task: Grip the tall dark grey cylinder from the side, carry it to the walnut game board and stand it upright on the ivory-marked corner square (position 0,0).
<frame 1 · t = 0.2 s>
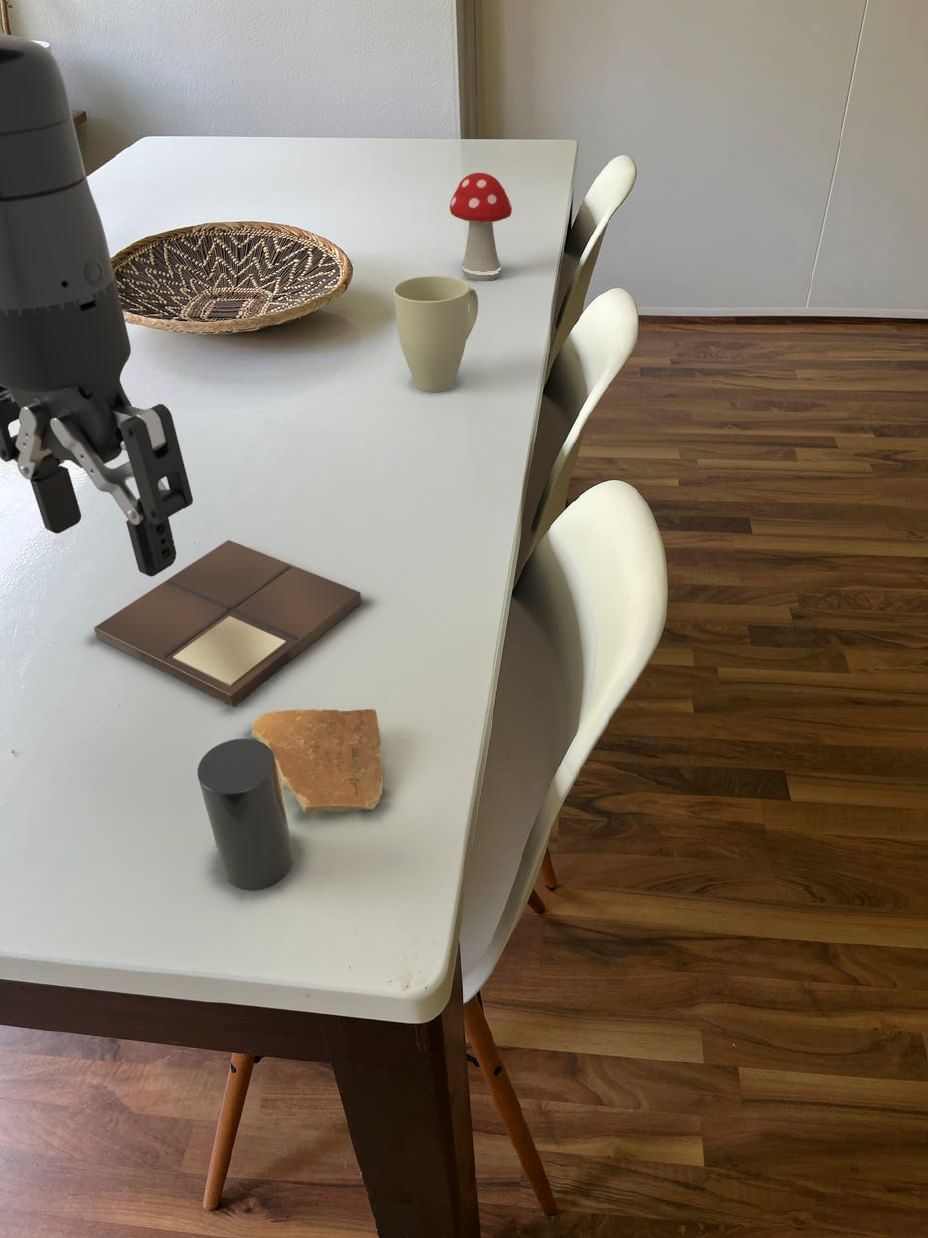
hand: (110, 547, 60), 19 cm above the table, tool pointing down, fingers open, 8 cm apart
pottery shard: (314, 771, 71), on the table
mug: (439, 382, 124), on the table
dark grey cylinder: (258, 861, 65), on the table
decorative mushroom: (481, 276, 155), on the table
board: (231, 620, 85), on the table
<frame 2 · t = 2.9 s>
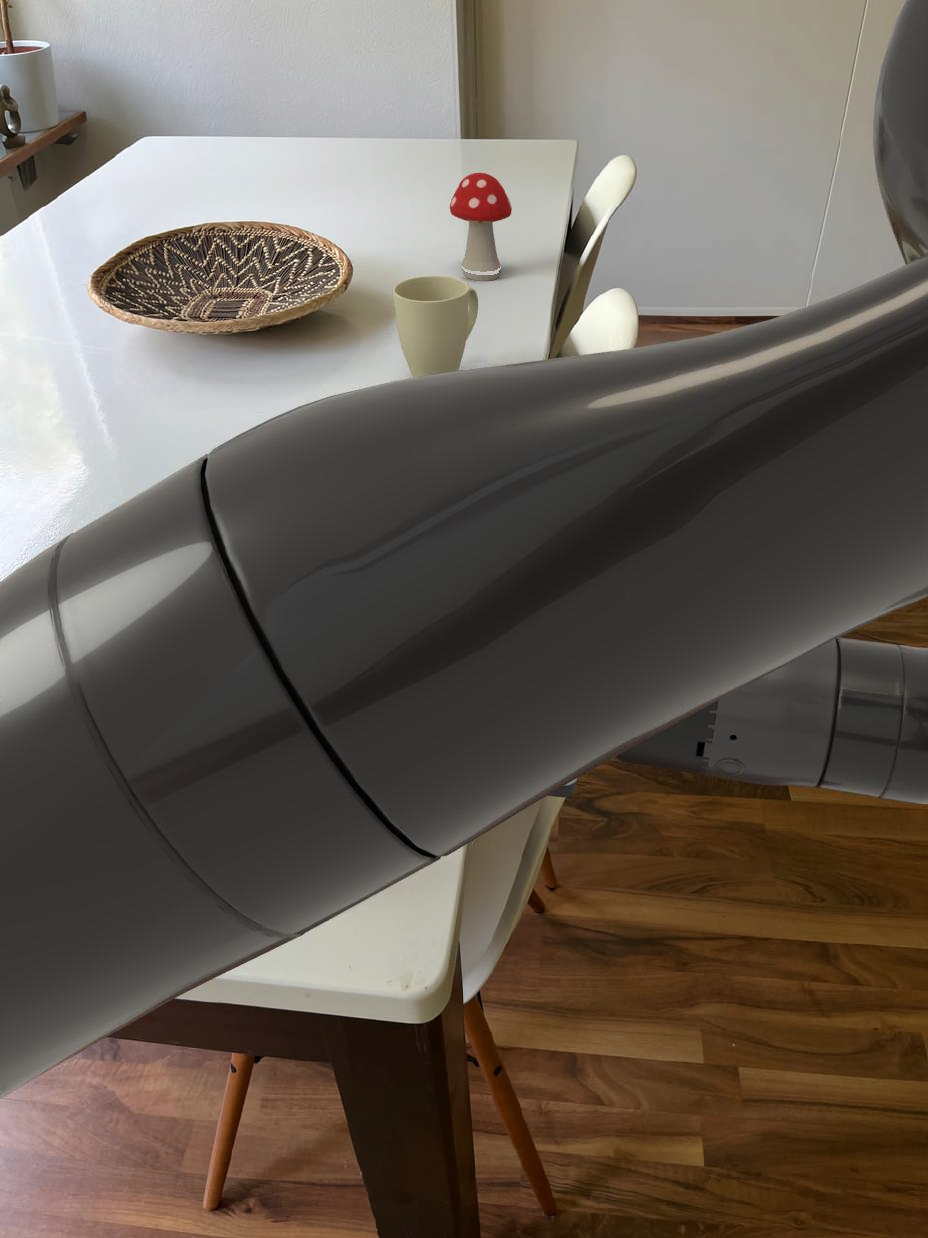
hand: (395, 649, 50), 20 cm above the table, tool horizontal, fingers open, 8 cm apart
nothing on the table moved.
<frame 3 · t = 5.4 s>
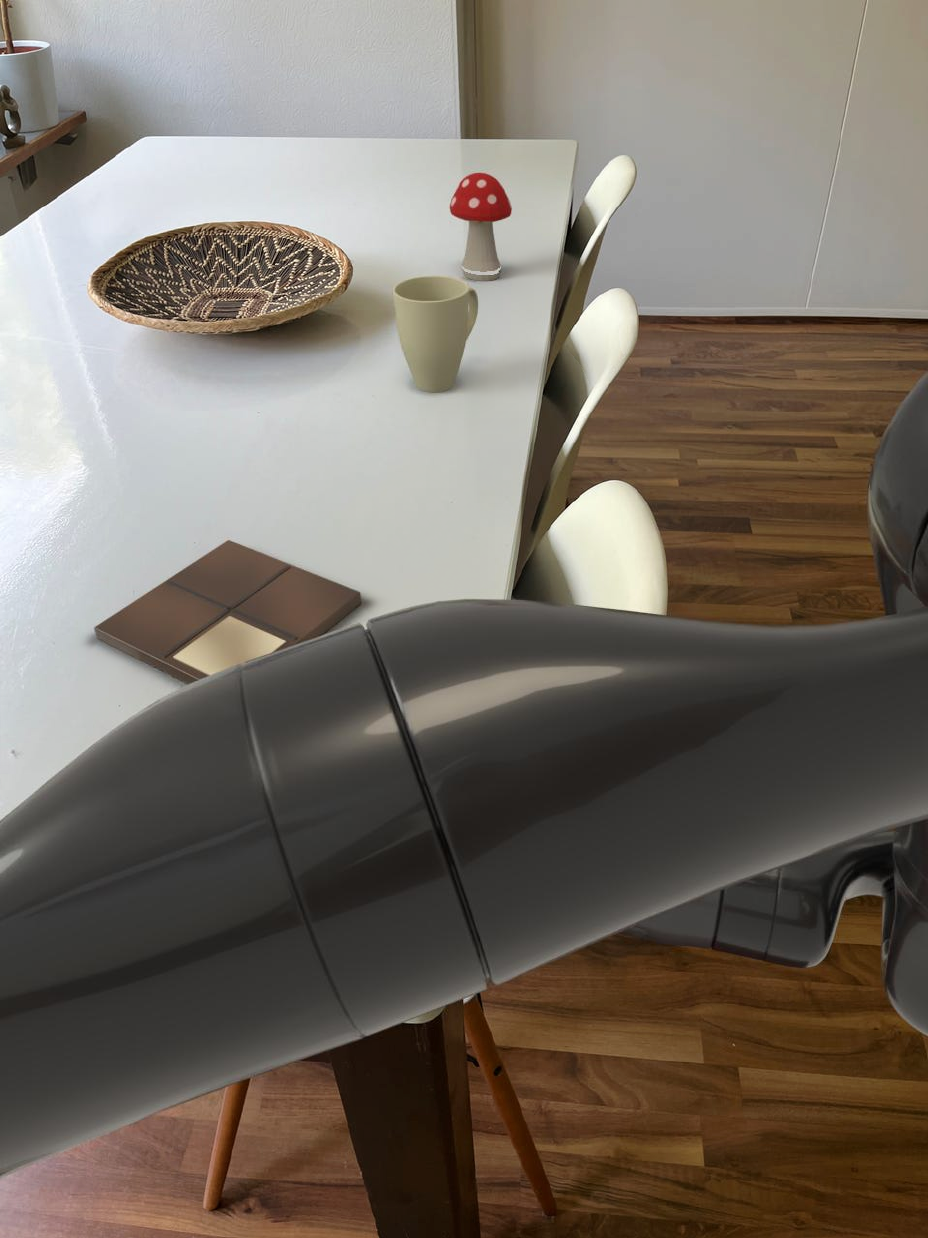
hand: (361, 809, 58), 7 cm above the table, tool horizontal, fingers open, 8 cm apart
nothing on the table moved.
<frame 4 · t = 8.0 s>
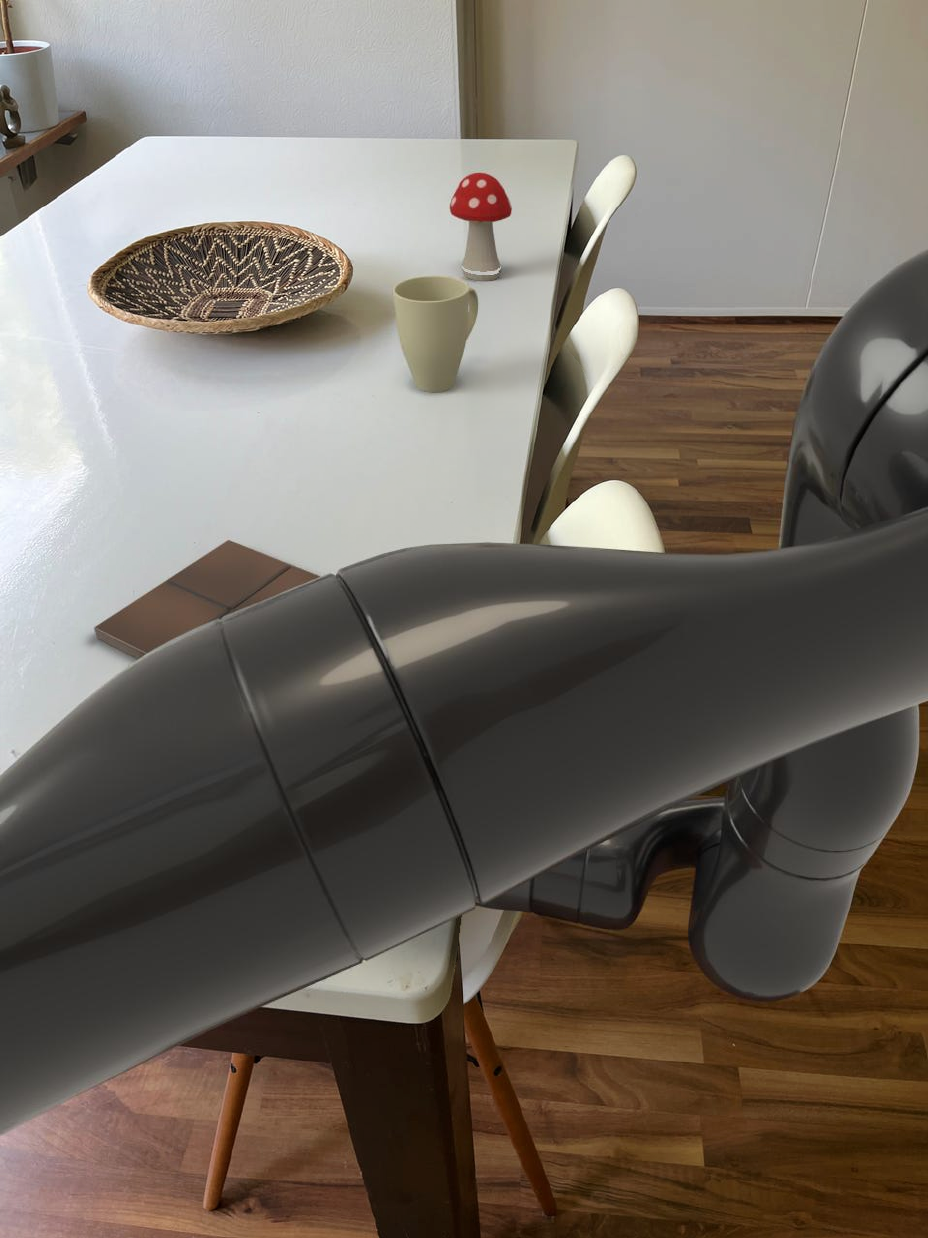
hand: (202, 780, 61), 7 cm above the table, tool horizontal, fingers closed on dark grey cylinder, 4 cm apart
dark grey cylinder: (258, 861, 65), on the table, touching gripper
everything else where it was.
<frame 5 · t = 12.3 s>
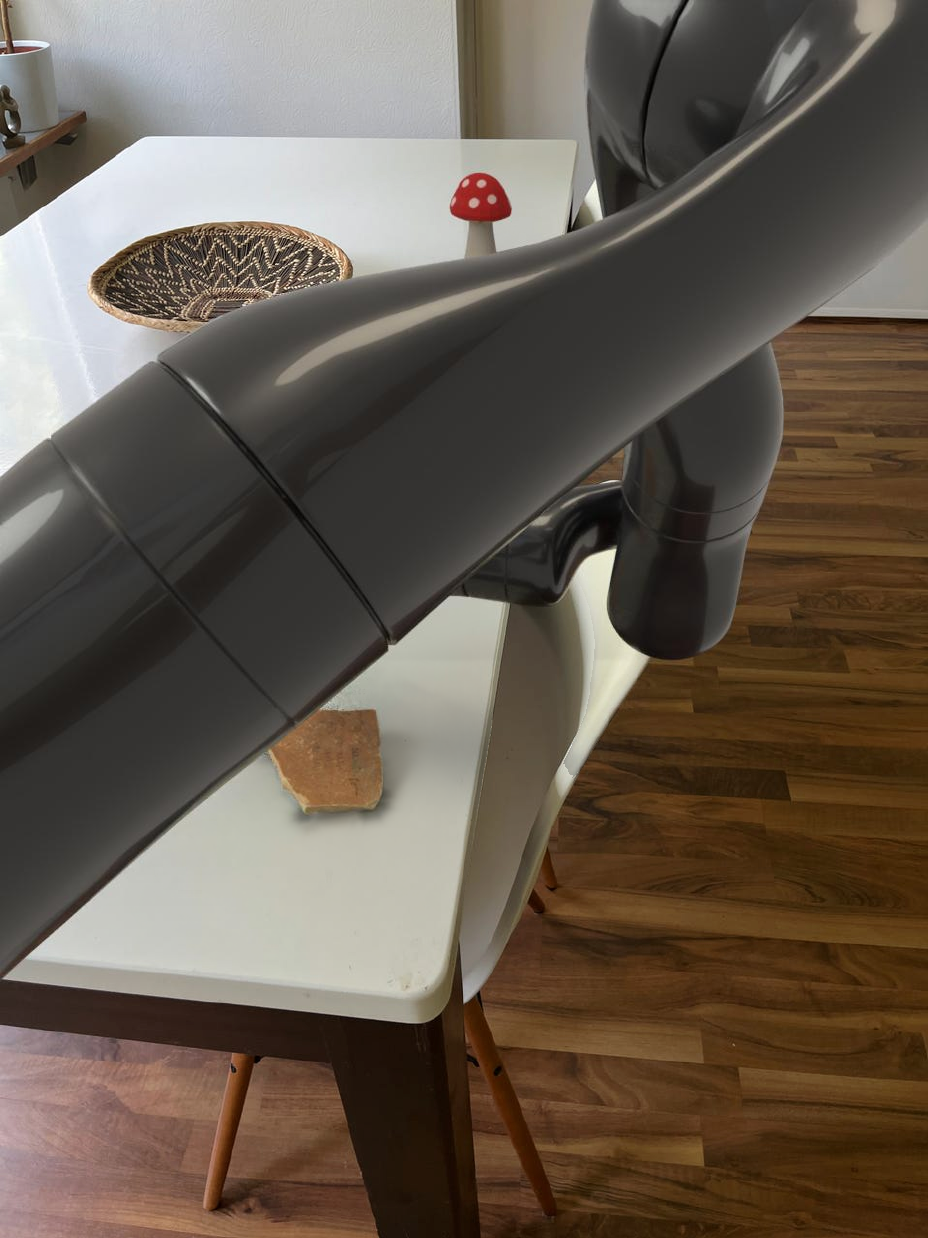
hand: (162, 498, 65), 19 cm above the table, tool horizontal, fingers closed on dark grey cylinder, 4 cm apart
dark grey cylinder: (218, 590, 69), point 12 cm above the table, touching gripper
everything else where it was.
when the fingers open (8 cm above the table, at t = 16.5 s): dark grey cylinder stays where it is, resting on board.
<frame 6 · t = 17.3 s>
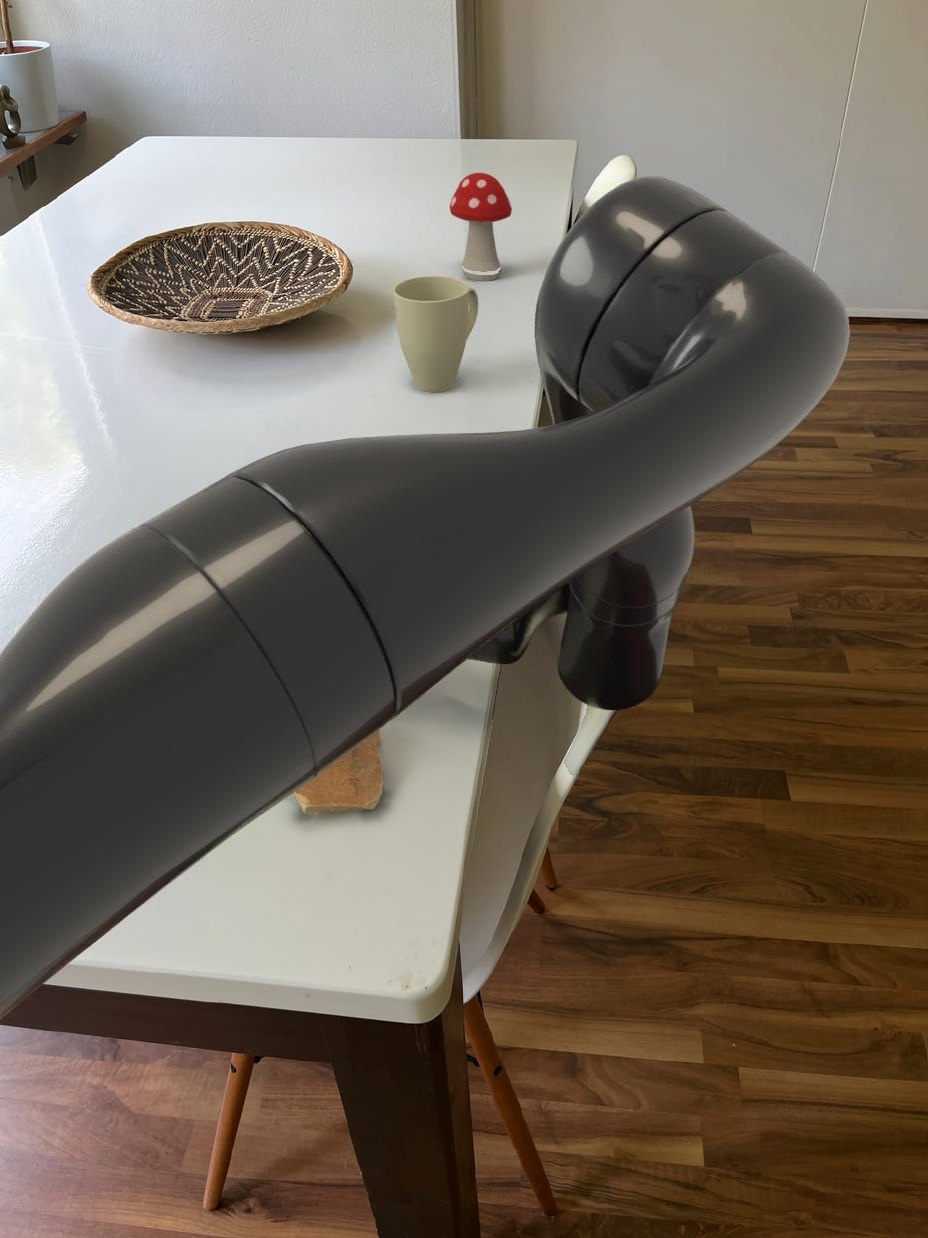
hand: (191, 567, 76), 9 cm above the table, tool horizontal, fingers open, 8 cm apart
dark grey cylinder: (231, 648, 80), point 1 cm above the table, touching board
everything else where it was.
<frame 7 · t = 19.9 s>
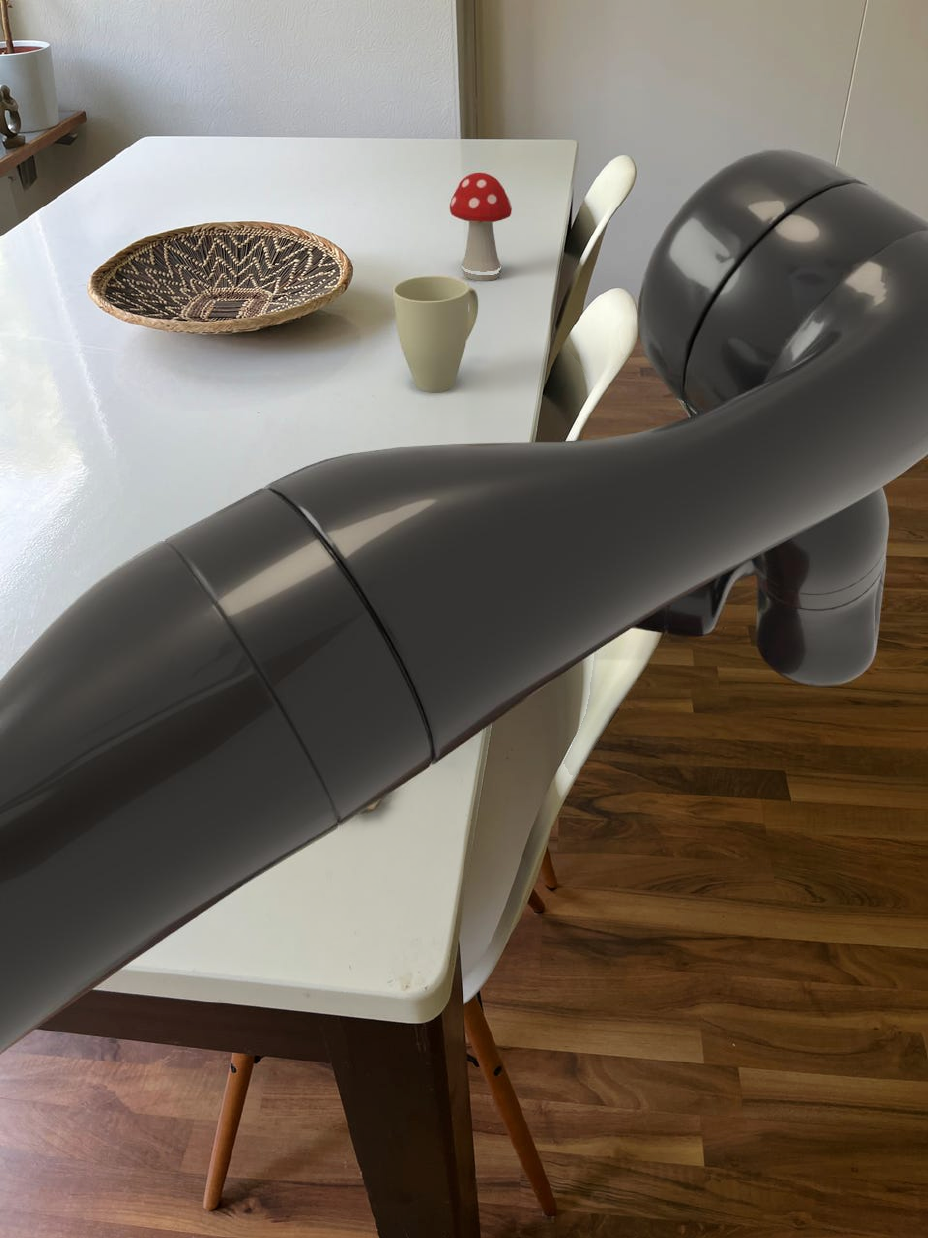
hand: (339, 533, 70), 14 cm above the table, tool horizontal, fingers open, 8 cm apart
nothing on the table moved.
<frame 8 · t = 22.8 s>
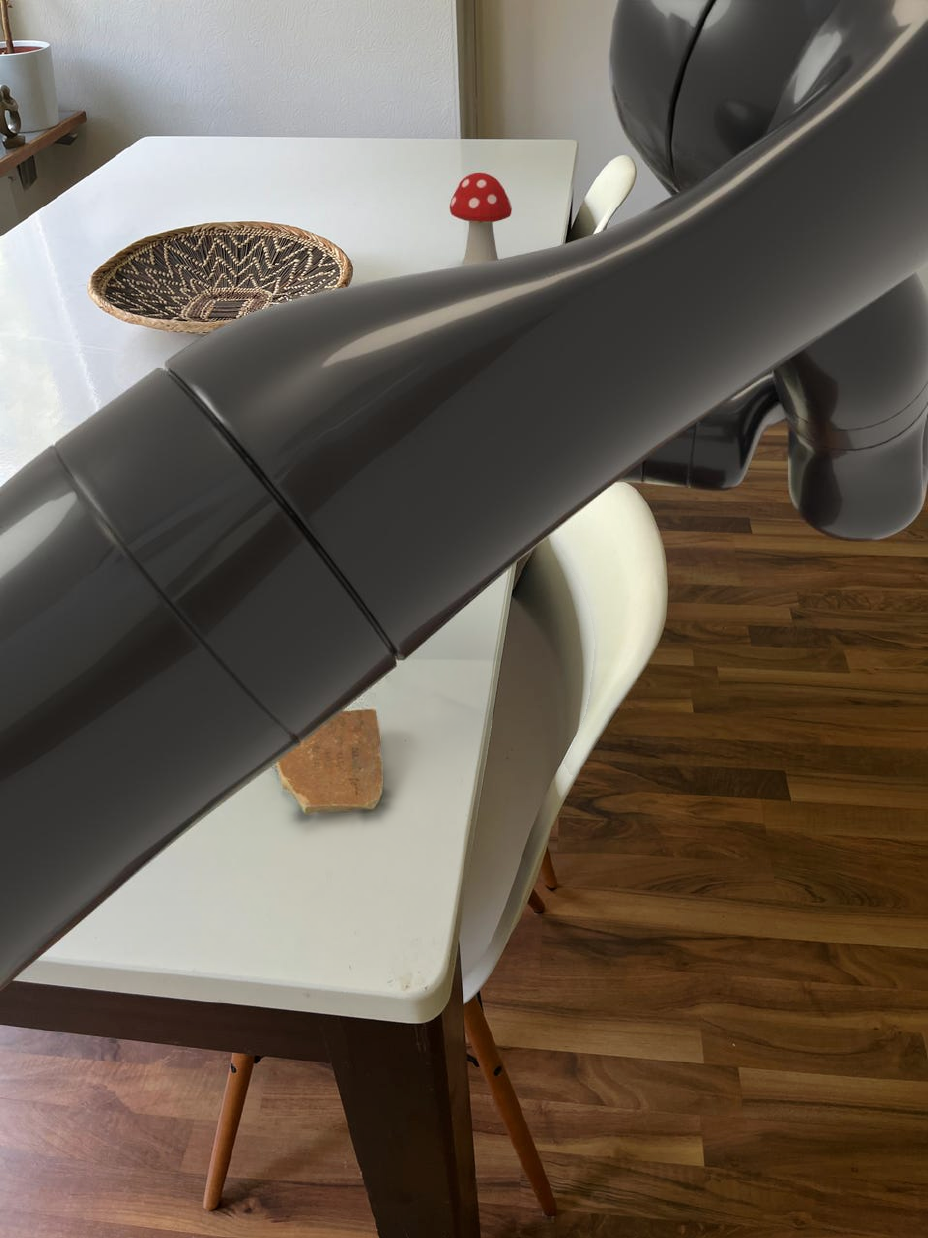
hand: (326, 390, 63), 25 cm above the table, tool horizontal, fingers open, 8 cm apart
nothing on the table moved.
at the end: dark grey cylinder 0.1 cm from the target spot on the board, point 1.3 cm above the board's base; dark grey cylinder tilted 0°; the gripper is holding nothing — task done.
